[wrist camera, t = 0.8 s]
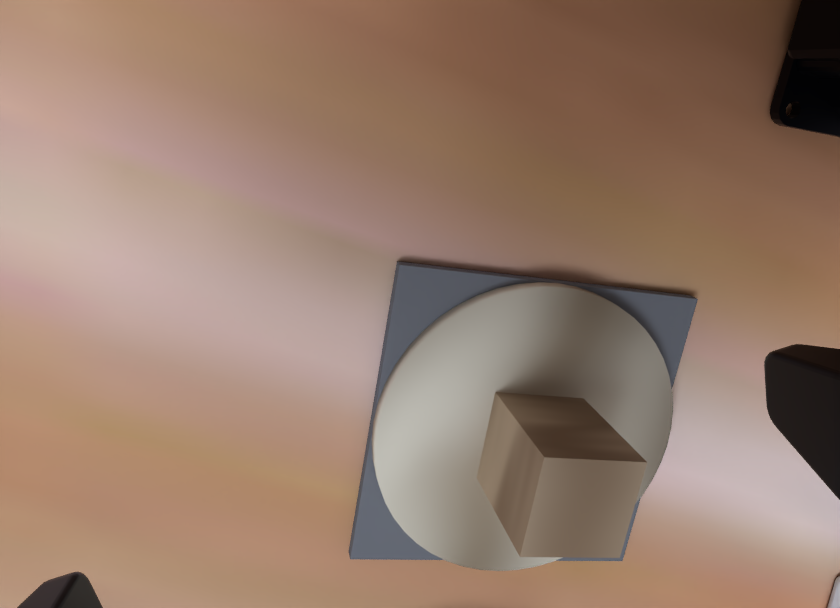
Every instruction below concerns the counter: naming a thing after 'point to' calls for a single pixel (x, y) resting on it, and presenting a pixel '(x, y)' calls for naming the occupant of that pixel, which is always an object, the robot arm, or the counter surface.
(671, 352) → the mat
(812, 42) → the robot arm
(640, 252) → the counter surface
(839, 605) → the medicine bottle
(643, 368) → the lid
